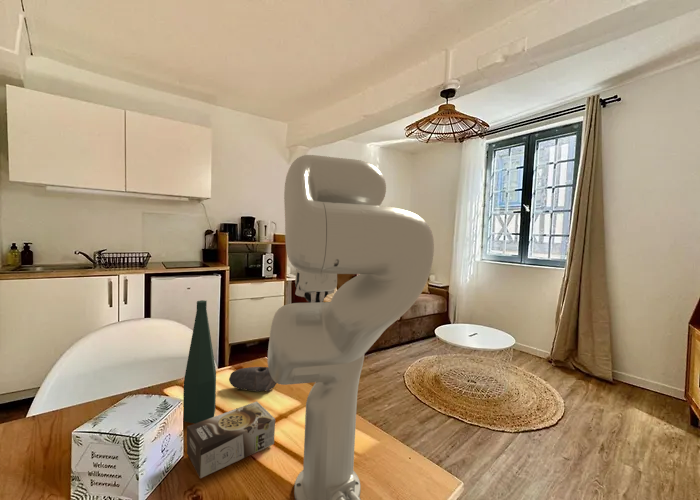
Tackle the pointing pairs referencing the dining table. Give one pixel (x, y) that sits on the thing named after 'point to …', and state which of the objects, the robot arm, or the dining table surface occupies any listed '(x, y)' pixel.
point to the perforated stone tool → (252, 379)
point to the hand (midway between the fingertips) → (314, 317)
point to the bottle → (200, 371)
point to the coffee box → (229, 437)
